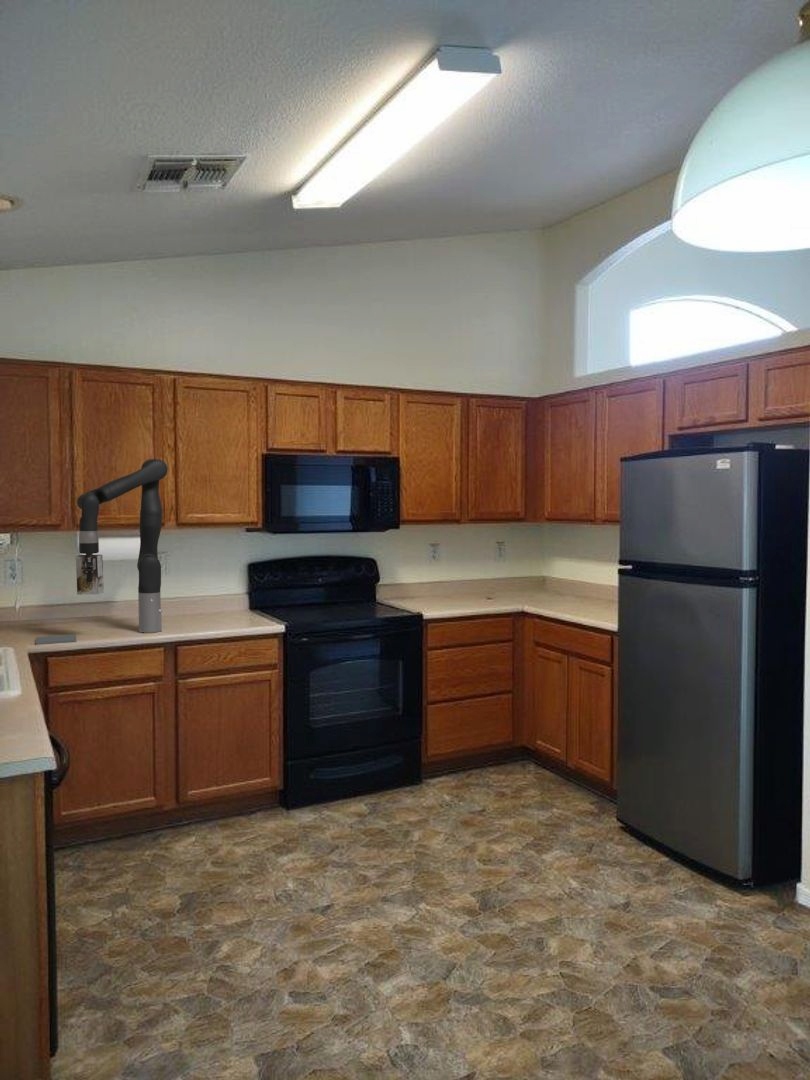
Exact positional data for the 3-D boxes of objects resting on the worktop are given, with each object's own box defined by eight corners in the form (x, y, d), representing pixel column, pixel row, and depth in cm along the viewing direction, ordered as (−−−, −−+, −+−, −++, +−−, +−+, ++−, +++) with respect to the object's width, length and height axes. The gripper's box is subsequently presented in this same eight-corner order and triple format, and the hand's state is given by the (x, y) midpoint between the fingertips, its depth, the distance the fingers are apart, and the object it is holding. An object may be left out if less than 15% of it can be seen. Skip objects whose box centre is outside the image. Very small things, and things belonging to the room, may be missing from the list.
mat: (75, 636, 331) (75, 634, 331) (76, 641, 318) (76, 640, 318) (36, 638, 325) (36, 637, 325) (35, 644, 312) (35, 643, 312)
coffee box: (104, 592, 329) (103, 554, 328) (98, 594, 323) (97, 555, 322) (82, 592, 329) (81, 554, 328) (76, 594, 322) (75, 555, 321)
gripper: (98, 542, 319) (99, 582, 320) (98, 540, 332) (99, 578, 333) (78, 543, 316) (79, 583, 317) (79, 541, 330) (80, 579, 331)
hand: (89, 580), depth 325 cm, fingers closed on coffee box, 7 cm apart
